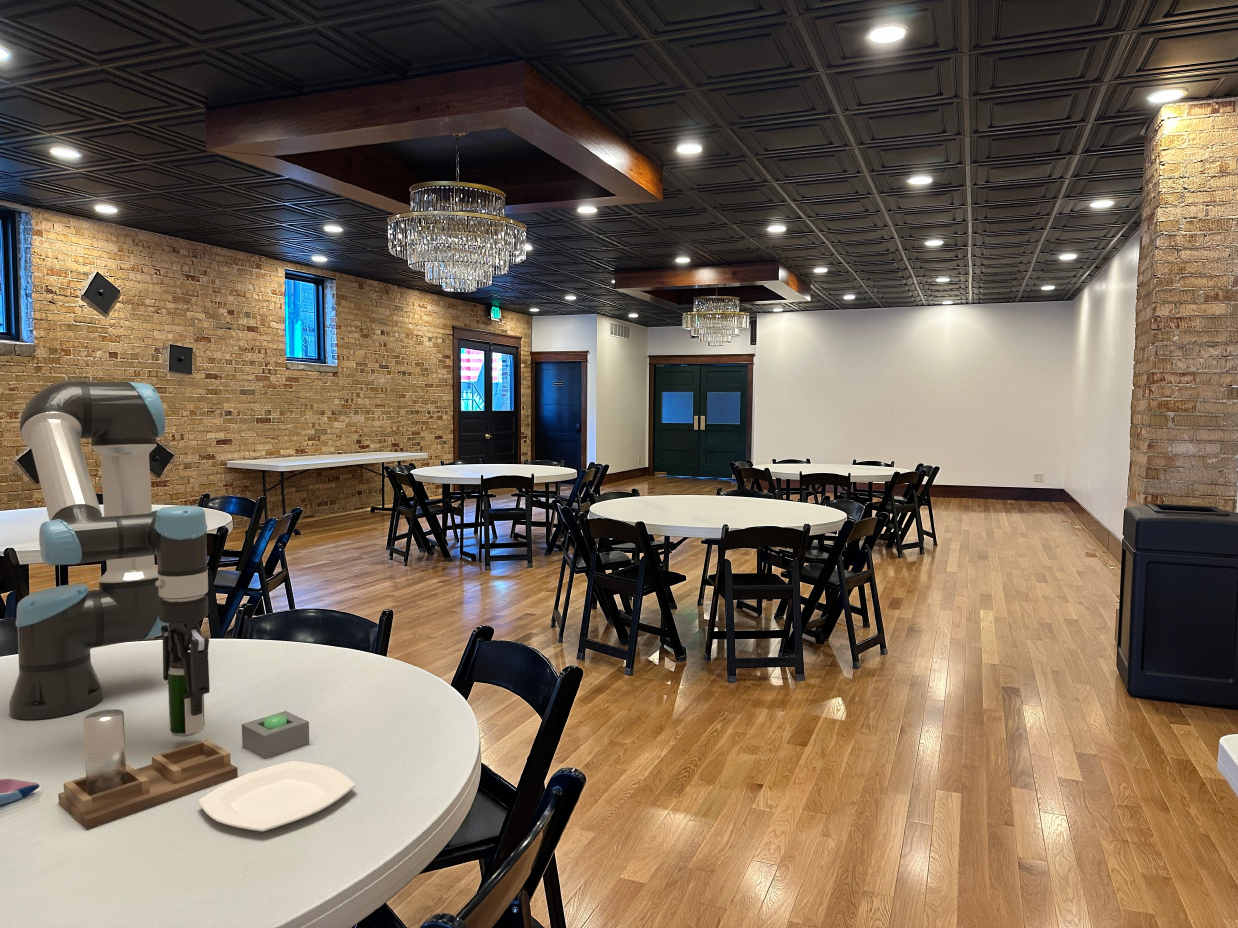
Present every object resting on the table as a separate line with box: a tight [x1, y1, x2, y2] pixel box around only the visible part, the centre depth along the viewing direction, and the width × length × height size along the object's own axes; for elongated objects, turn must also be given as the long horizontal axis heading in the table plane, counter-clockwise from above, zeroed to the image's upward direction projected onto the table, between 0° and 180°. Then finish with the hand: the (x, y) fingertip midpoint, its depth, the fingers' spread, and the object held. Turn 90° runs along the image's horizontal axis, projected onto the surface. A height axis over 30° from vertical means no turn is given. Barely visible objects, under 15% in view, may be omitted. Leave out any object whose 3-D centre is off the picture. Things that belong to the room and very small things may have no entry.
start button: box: [264, 713, 287, 730], centre depth 139 cm, size 4×4×3 cm
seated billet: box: [82, 708, 127, 796], centre depth 118 cm, size 5×5×12 cm
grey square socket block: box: [241, 710, 310, 760], centre depth 140 cm, size 8×8×4 cm
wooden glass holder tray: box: [57, 739, 239, 831], centre depth 123 cm, size 12×21×4 cm, turn 141°
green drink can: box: [167, 661, 206, 738], centre depth 139 cm, size 5×5×12 cm
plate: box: [197, 760, 357, 832], centre depth 119 cm, size 19×19×2 cm
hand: (187, 726), depth 139 cm, fingers closed on green drink can, 5 cm apart
